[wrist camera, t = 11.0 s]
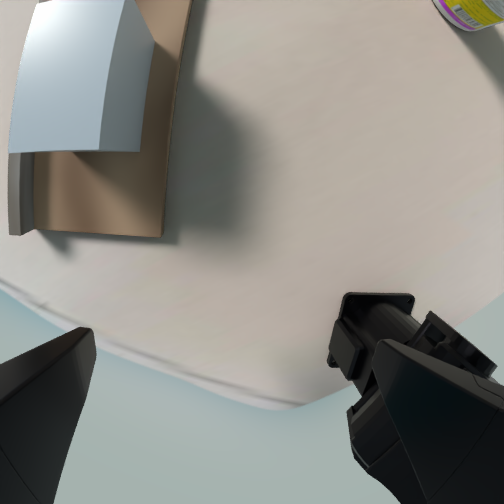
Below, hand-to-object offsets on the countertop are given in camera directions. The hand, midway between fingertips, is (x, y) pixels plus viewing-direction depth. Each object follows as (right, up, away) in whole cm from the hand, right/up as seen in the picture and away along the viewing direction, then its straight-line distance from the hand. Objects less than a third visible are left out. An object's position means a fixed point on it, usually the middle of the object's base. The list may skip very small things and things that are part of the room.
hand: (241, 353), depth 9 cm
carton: (-8, +12, +7) cm, 16 cm away
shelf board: (-9, +13, +8) cm, 17 cm away
